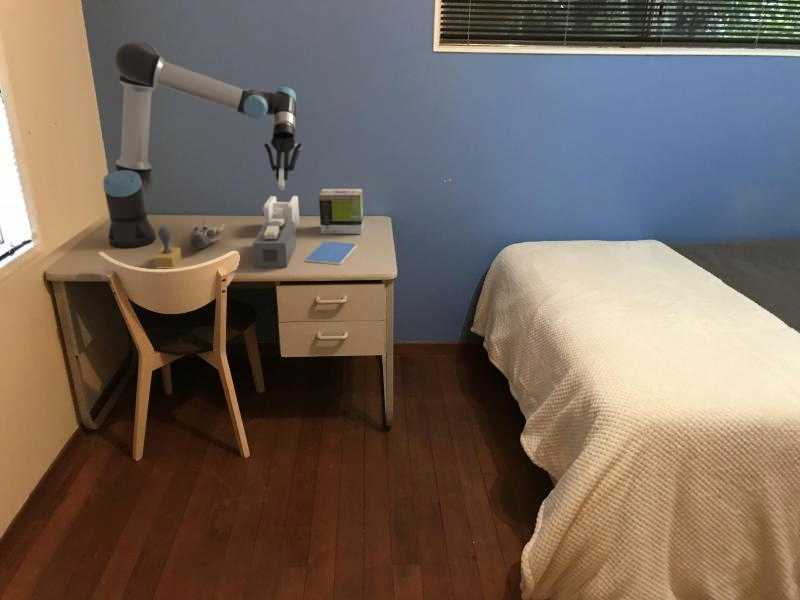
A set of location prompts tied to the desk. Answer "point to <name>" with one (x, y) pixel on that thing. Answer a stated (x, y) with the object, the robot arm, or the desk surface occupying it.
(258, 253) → the rocker switch panel
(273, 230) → the block
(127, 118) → the robot arm
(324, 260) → the blue flat rectangular pad
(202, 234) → the anime figure
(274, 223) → the back rocker
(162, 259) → the rubber stamp
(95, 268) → the desk surface
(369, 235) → the desk surface
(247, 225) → the desk surface
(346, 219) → the tea box
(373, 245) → the desk surface
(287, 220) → the cable organizer
